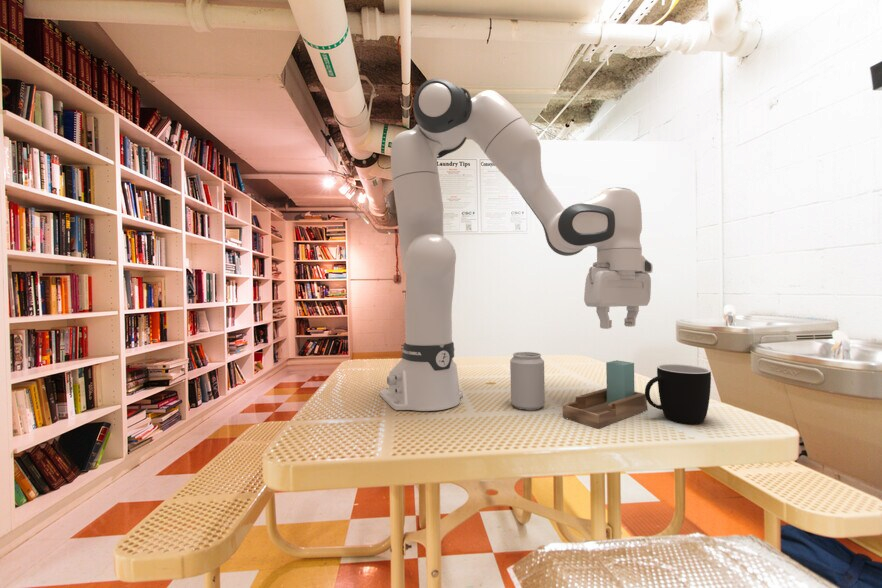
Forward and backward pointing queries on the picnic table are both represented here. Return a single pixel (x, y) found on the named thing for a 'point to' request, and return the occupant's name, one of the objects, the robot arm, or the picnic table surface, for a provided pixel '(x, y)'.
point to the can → (527, 380)
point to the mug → (682, 392)
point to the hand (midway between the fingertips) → (618, 327)
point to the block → (619, 380)
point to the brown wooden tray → (603, 408)
